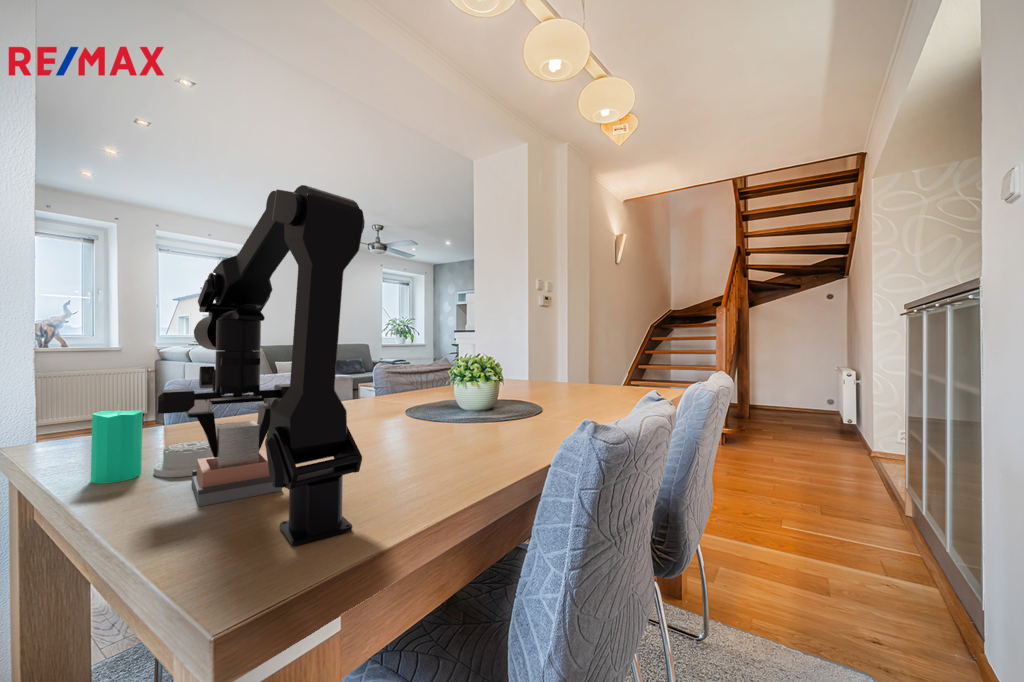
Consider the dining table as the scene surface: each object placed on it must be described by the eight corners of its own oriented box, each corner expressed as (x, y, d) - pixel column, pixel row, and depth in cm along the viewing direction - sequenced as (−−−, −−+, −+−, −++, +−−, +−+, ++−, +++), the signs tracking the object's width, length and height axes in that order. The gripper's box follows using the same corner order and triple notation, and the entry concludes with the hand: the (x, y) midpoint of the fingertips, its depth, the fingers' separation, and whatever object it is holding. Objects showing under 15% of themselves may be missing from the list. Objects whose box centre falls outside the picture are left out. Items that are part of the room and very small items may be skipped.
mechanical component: (136, 478, 69) (196, 480, 68) (137, 451, 69) (197, 452, 68) (186, 461, 79) (238, 463, 78) (186, 437, 79) (239, 438, 78)
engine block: (258, 465, 64) (259, 425, 64) (218, 471, 61) (219, 429, 61) (252, 458, 68) (253, 420, 68) (214, 463, 65) (215, 423, 65)
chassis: (281, 490, 63) (282, 463, 63) (198, 506, 57) (199, 476, 57) (265, 471, 72) (265, 448, 72) (191, 483, 66) (192, 457, 66)
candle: (79, 482, 66) (81, 404, 66) (121, 470, 72) (123, 399, 72) (111, 484, 65) (113, 405, 65) (151, 473, 71) (152, 401, 71)
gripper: (292, 350, 77) (290, 437, 77) (158, 350, 65) (155, 453, 65) (310, 351, 68) (308, 449, 68) (159, 351, 56) (156, 469, 56)
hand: (236, 454), depth 64 cm, fingers closed on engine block, 5 cm apart
